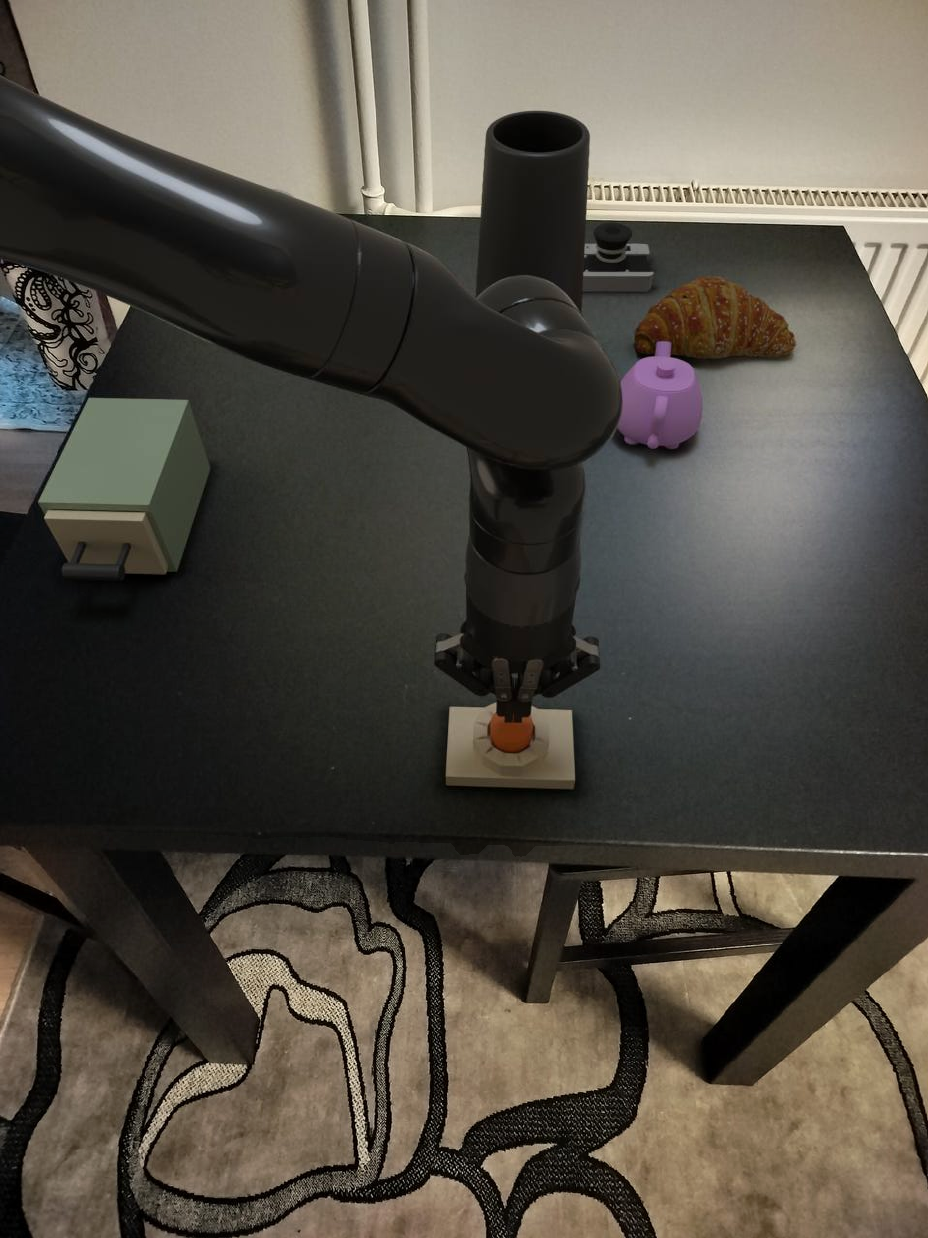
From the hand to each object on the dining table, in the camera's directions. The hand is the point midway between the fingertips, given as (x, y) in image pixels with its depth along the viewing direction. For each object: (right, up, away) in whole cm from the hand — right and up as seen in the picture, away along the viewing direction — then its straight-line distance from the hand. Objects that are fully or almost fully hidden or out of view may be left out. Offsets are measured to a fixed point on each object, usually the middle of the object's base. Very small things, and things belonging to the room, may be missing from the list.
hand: (512, 713), depth 71 cm
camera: (+15, +58, +53) cm, 80 cm away
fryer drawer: (-39, +17, +20) cm, 47 cm away
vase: (+4, +39, +39) cm, 55 cm away
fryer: (-39, +19, +23) cm, 49 cm away
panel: (0, -4, +5) cm, 7 cm away
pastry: (+28, +45, +42) cm, 68 cm away
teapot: (+19, +31, +32) cm, 49 cm away
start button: (0, -2, +3) cm, 3 cm away
